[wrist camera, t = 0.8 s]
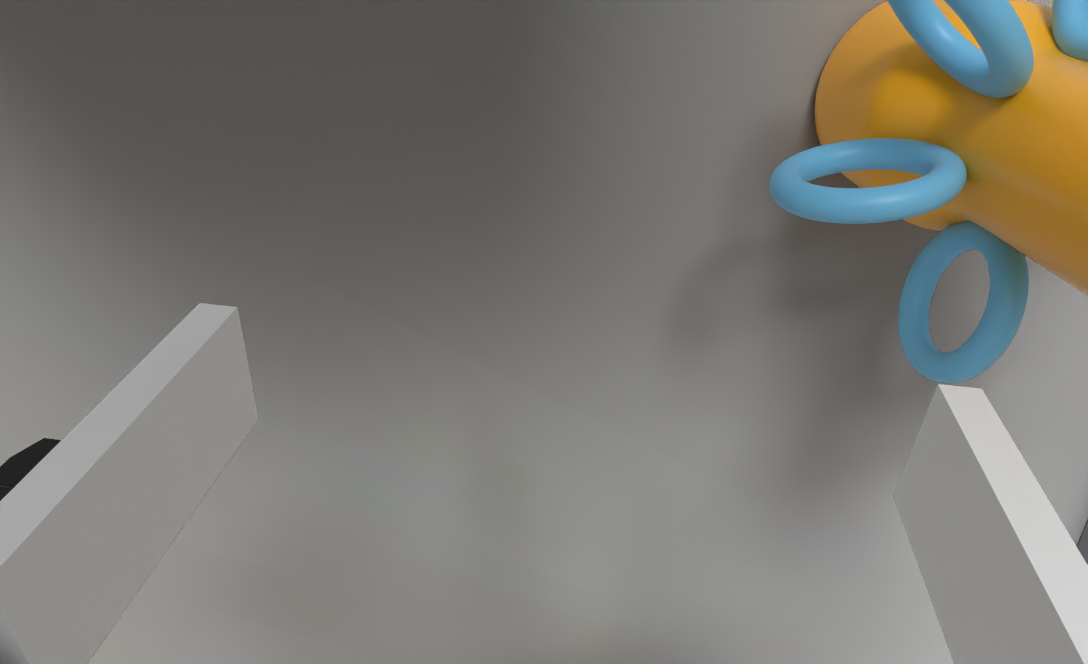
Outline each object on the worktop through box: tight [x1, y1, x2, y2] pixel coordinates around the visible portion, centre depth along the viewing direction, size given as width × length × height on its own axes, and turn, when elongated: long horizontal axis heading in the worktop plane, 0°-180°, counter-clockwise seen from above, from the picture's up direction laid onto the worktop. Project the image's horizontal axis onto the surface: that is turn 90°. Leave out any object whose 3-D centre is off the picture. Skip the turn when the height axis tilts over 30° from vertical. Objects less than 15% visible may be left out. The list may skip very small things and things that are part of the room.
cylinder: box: [769, 0, 1088, 383], centre depth 17 cm, size 12×10×15 cm
